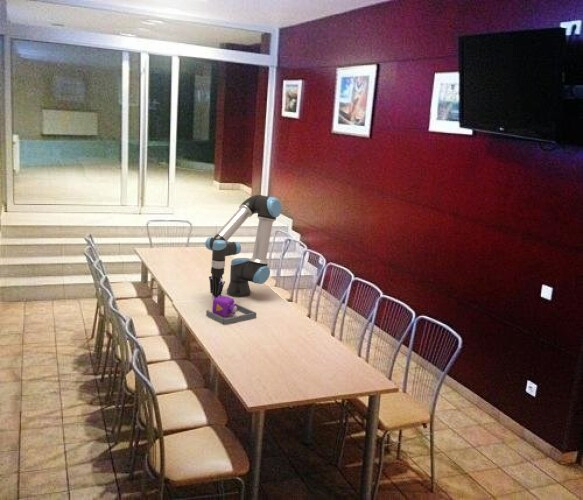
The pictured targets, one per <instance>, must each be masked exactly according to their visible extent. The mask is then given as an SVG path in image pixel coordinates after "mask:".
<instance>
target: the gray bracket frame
mask: <svg viewBox="0 0 583 500" xmlns="http://www.w3.org/2000/svg"><path fill="white" fill-rule="evenodd" d="M236 304H237V311H238V312H240V313H243V314H241V315H237V316H236V315H235V316H232V317H231V316H230V317H227V318H226V317H223V316H219V315H216V314H214V313H212V311H210V310H209V309H208V308H207V309H205V316H206V317H207V318H210V319H212V320H213V321H216V322H217V323H219V324H221V325H224V326H226V325H229V324H235V323H239V322H244V321H249V320H252V319H257V312H256V311H254V310H251V309H249V308H247V307H244V306H242V305H240V304H239V303H236Z"/></svg>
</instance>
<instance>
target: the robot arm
mask: <svg viewBox="0 0 583 500" xmlns="http://www.w3.org/2000/svg"><path fill="white" fill-rule="evenodd" d="M282 211H283V206H282V203H281V201H280V199H278V198H277V197H273V196H268V195H262V194H255V195H251V196H250V197H248V198H247V199H246V200H244V201H243V202H242V203H241V204H240V205H239V206H238V210H237V211H236V212H235V213H234V214H233V215H232V216H231V217H230V218H229V220H227V222H226V223H225V224H224V226H223V227H222V228H221V229H220V230H219V231H217V233H216V234H215V235H214V236H210V237H208V238H206V240H205V243H204V244H205V248H206V249H208V250H210V251H212V255H211V267H210V273H211V275H210V276H208V279H209V290H210V294H211V295H212V301H213V300H214V299H215V298H217V297H219V296H221V295H223V294H222V293H223V289H224V285H225V284H226V281H225V280H223V278H224V277H223V275H224V274H225V267H226V257H229V256H236V255H238V254H240V253H241V251H242V245H241V244H240V242H238V241H232V242H231V241H229V239H231V237H232V236H233V235H234V234H235V233H236V231H237V230H238V229H239V228H240V227H241V226H242V225H243V224H244V223H245V222H246V220H247V219H248V218H252V216H253V215H254V214H257V216H256V217H257V218H258V226H257V228H256V235H255V241H254V247H253V252H252V257H251V258H249V257H237V258H233V259H231V261H230V273H229V274H230V275H229V283H228V286H227V289H226V294H227V295H228V296H231V297H236V298H237V297H238V298H245V297H249V296H250V295H251V288H250V284H249V282H251V283H254V284H257V285H262V284H265V283H266V282H267V280H269V277H270V275H271V270H270V268H269V266H268V264H269V263H268V261H267V256H268V250H269V246H270V245H269V244H270V241H271V240H270V239H271V236H272V235H271V234H272V229H273V223H274V222H275V221H276V220H277V218H278V217H279V216H280V215H281V214H282ZM212 307H213V302H212Z"/></svg>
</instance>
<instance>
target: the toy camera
mask: <svg viewBox="0 0 583 500" xmlns="http://www.w3.org/2000/svg"><path fill="white" fill-rule="evenodd" d="M212 303H213V306H212V311H211V312H212V313H214V314H216V315H219V316H221V317H223V318H226V317H228V316H230V315H235V314H236V313H237V311H238V310H237V304H238V303H235V301H234V298H232V297H229V296H225V295H224V294H221V296H218V297H217V298H215V299H214V300H213V299H212Z"/></svg>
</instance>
